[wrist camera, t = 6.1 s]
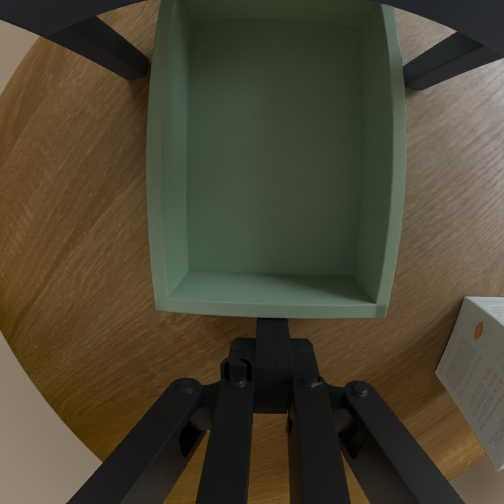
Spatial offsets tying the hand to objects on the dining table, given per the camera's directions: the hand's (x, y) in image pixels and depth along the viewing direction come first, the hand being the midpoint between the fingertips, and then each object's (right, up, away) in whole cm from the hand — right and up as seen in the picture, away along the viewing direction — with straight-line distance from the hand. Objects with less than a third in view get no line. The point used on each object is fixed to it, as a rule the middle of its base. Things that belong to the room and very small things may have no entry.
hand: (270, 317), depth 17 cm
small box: (+19, -4, +3) cm, 20 cm away
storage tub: (0, +11, -1) cm, 11 cm away
